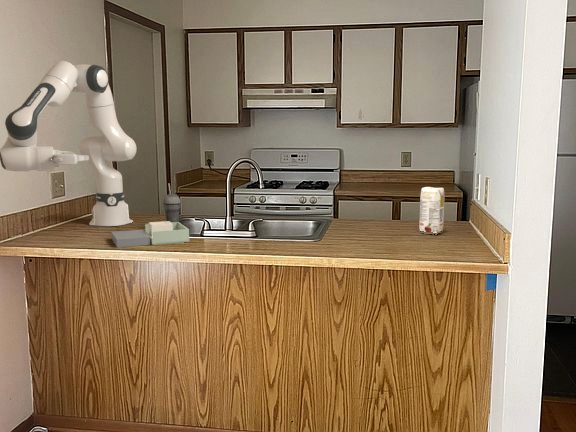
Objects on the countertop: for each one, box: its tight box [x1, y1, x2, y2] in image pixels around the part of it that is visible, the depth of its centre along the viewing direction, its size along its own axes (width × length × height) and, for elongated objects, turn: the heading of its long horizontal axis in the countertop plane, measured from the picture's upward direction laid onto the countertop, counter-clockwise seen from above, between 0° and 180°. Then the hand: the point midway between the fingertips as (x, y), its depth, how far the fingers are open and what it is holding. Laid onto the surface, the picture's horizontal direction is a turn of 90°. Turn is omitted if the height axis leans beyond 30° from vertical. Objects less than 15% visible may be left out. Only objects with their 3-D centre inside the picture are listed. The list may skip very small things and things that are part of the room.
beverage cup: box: [162, 183, 182, 223], centre depth 247 cm, size 7×7×20 cm
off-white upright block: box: [148, 220, 173, 238], centre depth 228 cm, size 6×6×8 cm
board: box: [111, 229, 151, 248], centre depth 224 cm, size 16×12×3 cm
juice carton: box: [418, 186, 445, 233], centre depth 240 cm, size 8×9×19 cm
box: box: [144, 221, 190, 246], centre depth 229 cm, size 18×14×5 cm
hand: (88, 157), depth 220 cm, fingers closed
